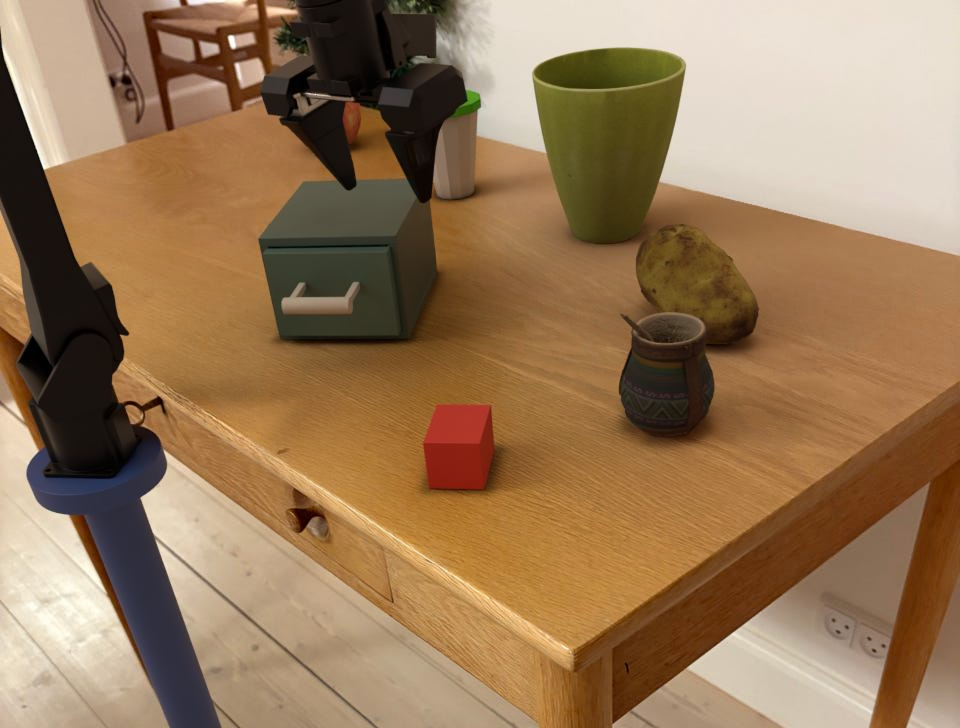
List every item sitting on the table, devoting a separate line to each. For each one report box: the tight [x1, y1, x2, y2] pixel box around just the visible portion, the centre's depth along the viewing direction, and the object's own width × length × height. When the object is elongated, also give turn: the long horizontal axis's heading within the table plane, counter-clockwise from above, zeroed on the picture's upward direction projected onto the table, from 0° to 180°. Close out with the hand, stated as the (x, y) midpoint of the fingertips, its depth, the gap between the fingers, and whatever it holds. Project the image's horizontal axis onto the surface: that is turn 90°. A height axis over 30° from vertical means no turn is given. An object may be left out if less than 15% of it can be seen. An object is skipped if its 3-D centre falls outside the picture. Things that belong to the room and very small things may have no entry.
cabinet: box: [257, 177, 439, 340], centre depth 100 cm, size 15×13×10 cm
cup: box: [431, 62, 482, 200], centre depth 120 cm, size 8×8×15 cm
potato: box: [635, 223, 760, 345], centre depth 92 cm, size 8×13×8 cm, turn 13°
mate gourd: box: [618, 312, 716, 437], centre depth 79 cm, size 7×8×10 cm
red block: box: [422, 403, 496, 491], centre depth 78 cm, size 6×4×4 cm
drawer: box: [263, 245, 401, 337], centre depth 97 cm, size 18×11×8 cm, turn 171°
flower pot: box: [531, 46, 687, 244], centre depth 107 cm, size 15×15×16 cm
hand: (388, 194), depth 90 cm, fingers open, 9 cm apart
